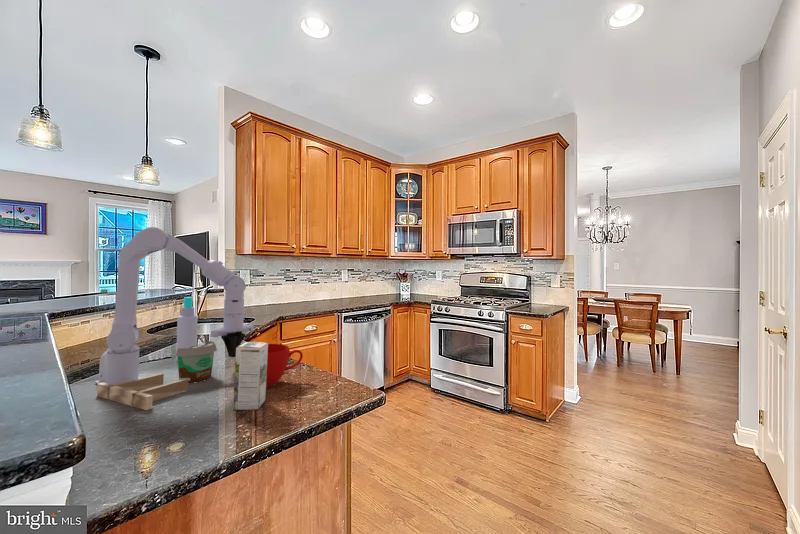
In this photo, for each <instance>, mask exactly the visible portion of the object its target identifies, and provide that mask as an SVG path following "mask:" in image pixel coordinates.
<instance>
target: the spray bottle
mask: <svg viewBox="0 0 800 534" xmlns="http://www.w3.org/2000/svg"><path fill="white" fill-rule="evenodd" d="M176 323H177V324H176V325H177V326H176V328H177V329H176V352H177V349H178V348H190V347H193V346H198V315H196V314H195V307H194V306H193V297H192V296H184V297H183V306H182V307H181V311H180V315H177V322H176ZM175 359H176V360H175V361H176V362H178V356H176V355H175Z"/></svg>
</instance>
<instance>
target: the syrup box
mask: <svg viewBox="0 0 800 534" xmlns="http://www.w3.org/2000/svg"><path fill="white" fill-rule="evenodd" d="M268 344H269V343H268V342H263V341H262V342H261V341H260V342H259V341H250V342H249V341H247V342H243V343H241V344H240V346H238V347H237V348H236V357H235V363H234V364H235V365H234V383H233V384H234V386H233V387H234V388H233V391H234V392H233V403H232V404H233V407H232V409H233V410H234V411H236V410H237V411H239V410H241V411H243V410H244V411H245V410H250V411H251V410H259V409H260V408H261V407H262V406H263V404H264V403H265V402H266V396H267V387H266V379H267V355H268Z"/></svg>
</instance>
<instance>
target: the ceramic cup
mask: <svg viewBox="0 0 800 534" xmlns="http://www.w3.org/2000/svg"><path fill="white" fill-rule="evenodd" d="M267 344H268V355H267V379H266V388H269V386H270V387H272V386H275V385H276V384H277V383H278V382H279V381H280V380H281V378H282V377H283V375H284V374H285V372H286V371H289V370H291V369H293V368H295V367H297V366H298V365H299V364H300V363H301V361H302V360H303V357H304V356H303V352H302V351H301V350H300V349H293V350H291V351H290V347H289V345H286V344H279V343H267ZM295 353H299V358H298V360H297V361H296V362H295V363H294V364H291V365H289V366H288V363H289V359H290V358H291V356H292V355H293V354H295Z"/></svg>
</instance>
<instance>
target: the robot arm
mask: <svg viewBox="0 0 800 534" xmlns="http://www.w3.org/2000/svg"><path fill="white" fill-rule="evenodd" d="M162 250H164V251H167V252H172V253H176V254H178V255H180V256H181V257H183V258H185V259H186V260H188V261H190V262H191V263H192V264H194V265H195V266H197V267H199V268H200V269H201V274H202V276H204V277H205V278H206V279H208V280H209V281H211V282H212V283H213V284H216V285H217V286H218V287H223V290H224V291H225V292H224V293H225V296H224V297H225V298H224V300H223V301H224V302H223V305H224V306H223V327H220V328H217V329H211V330H210V338H218V337H220V338H221V339H222V341H223V344H224V345H225V347H226V351H227V354H228V357H229V358H236V348H237V347H238V346H240V345H242V342H243V340H244V339H245V337H246V332H252V331H254V328H255V327H254V326H255V325H254V324H244V317H245V316H244V314H245V313H244V311H245V298H244V296H245V293H244V292H245V291H246V288H247V285H246V282H245V280H244V279H243V278H242V277H240V276H238V275H236V274H237V272H235V271H231V270H230V269H229V268H227V267H226V266H224V265H223V264H224V262H222V261H220V260H219V261H217V260H216V259H211V260H208V259H207V258H205V257H204V256H203V255H201V254H200V253H198V251H196V250H195V249H193V248H192V247H191V246H189V245H188V244H186V243H185V242H184V241H182V240H181V239H179V238H177V237H175V236H174V235H171V234H170V233H168V232H167V233H165V232H164V231H163V229H161V228H159V227H156V226H149V227H146V228H144V229H142V230H139V231H138V232H136V233H135V234H134V236H133V237H132V238H131V239H130V241H128V242H127V243H126V244H125V245H124V246H123V248H122V249H120V252H119V258H118V269H117V270H118V271H117V283H116V285H117V286H116V295H115V296H116V298H115V308H114V309H115V310H114V318H113V321H112V323H111V330H110V331H109V333H108V335H107V337H106V341H105V342H106V346H107V349H106V351H104V352H103V353H102V354H101V356H100V357H99V369H98V380H95V381H94V384H99V383H107V384H111V385H115V384H119V383H123V382H127V381H131V380H135V379H140V378H142V377H141V376H139V374H140V372H139V371H140V369H139V367H140V346H139V345H137V343H136V342H138V340H139V339H140V335H141V333H140V330H139V328H138V325H137V323H138V322H137V320H138V319H137V309H138V308H137V307H138V306H137V305H138V296H139V283H140V270H141V262H142V261H141V260H143V259H145V258H146V257H148V256H149V255H150V254H154V253H156V252H159V251H162ZM244 332H245V333H244Z"/></svg>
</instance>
